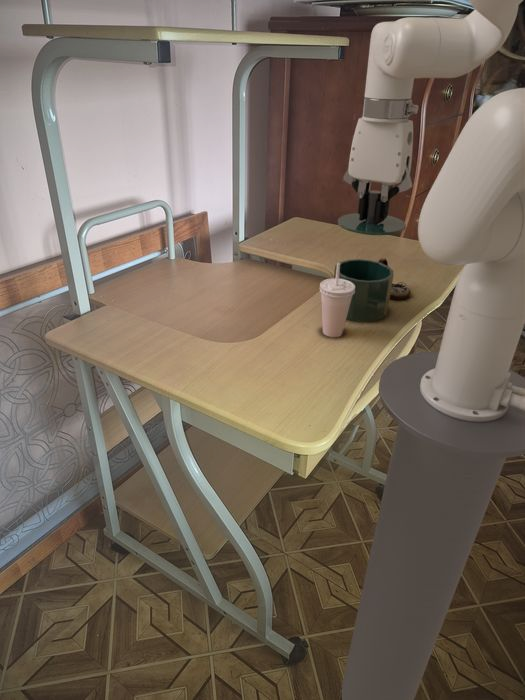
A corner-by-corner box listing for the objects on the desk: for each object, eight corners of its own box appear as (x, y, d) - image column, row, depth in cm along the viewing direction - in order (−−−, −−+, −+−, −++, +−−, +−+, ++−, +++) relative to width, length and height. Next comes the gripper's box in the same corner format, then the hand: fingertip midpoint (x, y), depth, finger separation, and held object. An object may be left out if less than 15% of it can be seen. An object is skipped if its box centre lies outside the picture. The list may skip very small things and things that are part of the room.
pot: (395, 305, 104) (401, 267, 100) (373, 327, 96) (380, 287, 91) (345, 291, 109) (349, 255, 105) (321, 311, 101) (324, 272, 97)
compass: (405, 303, 105) (411, 270, 101) (369, 293, 109) (374, 262, 105) (416, 289, 111) (422, 258, 107) (382, 281, 114) (387, 251, 111)
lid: (414, 225, 95) (420, 190, 91) (390, 243, 86) (396, 204, 82) (354, 214, 100) (357, 181, 97) (325, 230, 91) (328, 193, 88)
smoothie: (309, 334, 93) (315, 263, 86) (325, 320, 98) (332, 252, 90) (340, 344, 90) (349, 272, 83) (355, 330, 95) (364, 260, 87)
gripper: (440, 112, 82) (421, 223, 91) (351, 105, 89) (341, 209, 99) (426, 116, 76) (407, 233, 86) (332, 109, 84) (323, 217, 93)
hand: (371, 219), depth 92 cm, fingers closed on lid, 2 cm apart
